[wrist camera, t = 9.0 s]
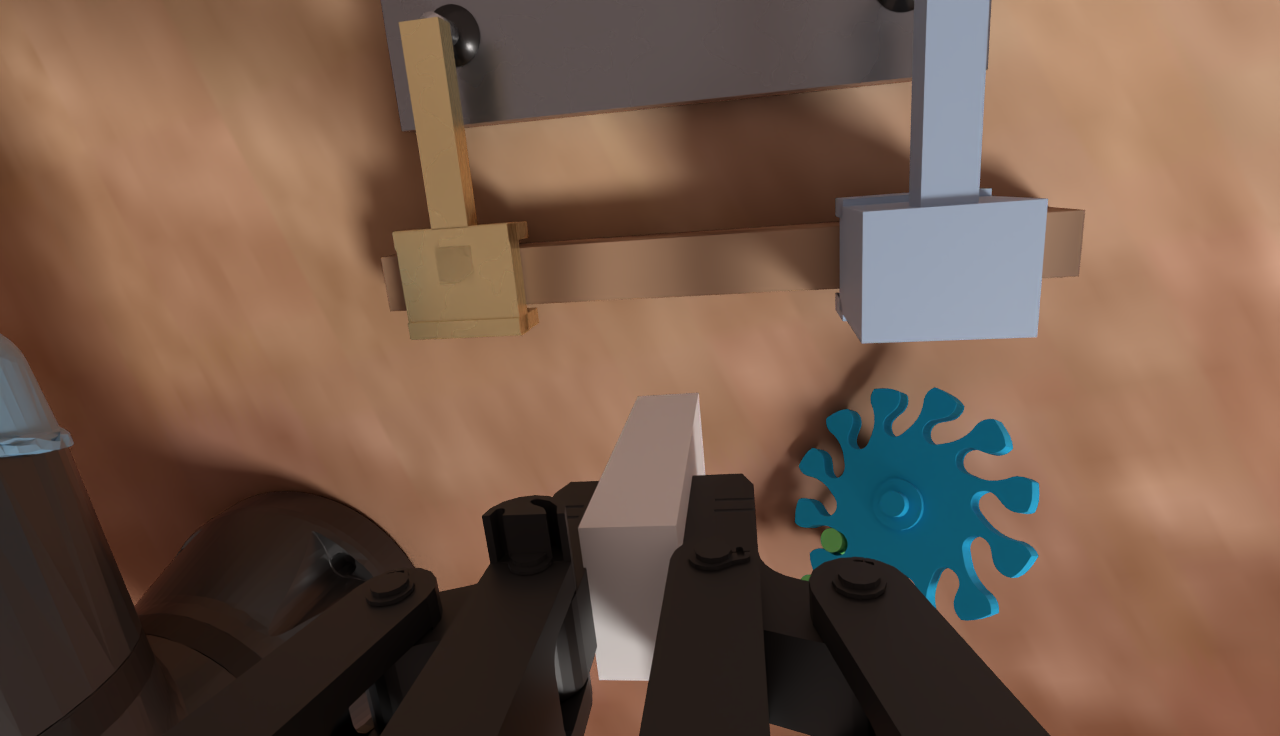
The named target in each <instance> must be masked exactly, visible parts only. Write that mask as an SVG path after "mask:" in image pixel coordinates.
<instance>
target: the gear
mask: <svg viewBox="0 0 1280 736" xmlns="http://www.w3.org/2000/svg"><path fill="white" fill-rule="evenodd" d="M871 404H872V407H873V411H874V420H875V422H874V429H873V432H872V435H871V438H870V440H869V443H868V444H867V446H866V447H865V448H863V449H860V448H859V447H858V445H857V436H858V434H859V431H860V429H861V423H862V422H861V417H860V415H859V414H858V413H857V412H856V411H852V410H849V409H844V410H840V411H837V412H836V413H834V414H832V415H830V416H829V417H827V419H826V425H827V428H828V430H829V431H830V432H831V433H832V434H833V435H834V436H835V437H836V438H837V440H838V441H839V443H840V445H841V448H842V450H843V455H844V463H845V470H844V472H843V474H842V475H841V476H840V477H838V478H837V477H836V475H835V474H834V470H833V462H832V458H831V456H830V454H829V453H828V452H826V451H824V450H820V449H816V448H811V449H810V450H809V451H808V452H807V453H806V454H805V456H804V457H803V459H802V461H801V462H800V464H799V468H800V470H801V472H802V473H803V474H805V475H807V476H811V477H814V478H816V479H818V480H820V481H821V482H823V483H824V484H825V485H826V486H827V487H828V489H829V490H830V491H831V493H832V494H833V496H834V497H835V499H836V502H837V509H836V511H835V513H834V514H833V515H830V514H829V513H828V512H827V510H826V509H825V507H824V505H823V504H822V503H821V502H820V501H818V500H815V499H807V498H801V499H799V500H798V503H797V506H796V512H795V523H796V524H797V525H798V526H800V527H805V528H817V527H820V526H829V527H831V528H828V529H826V530H824V531H823V533H822V535H821V544H822V546H823V548H819V549H815V550H813V551H812V552H811V553H810V560H811V565H812V568H813V570H814V569H815V568H817V567H818V566H820V565H821V564H822V563H824V562H827V561H830V560H834V559H838V558H848V557H864V558H870V559H875V560H878V561H881V562H883V563H886V564H889V565H891V566H894V567H895V568H897V569H898V570H899V571H901V572H902V573H903V574H904V575H906V576H907V577H908V578H910V579H911V580H912V581H913V582H914V584H915V586H916V587H917V588H918V589H919V590H920V592H921V593H922V594H923V595H924V596H925V597H926V598H927V599H928V600H929V602H930V603H931V604H932V605H933V606H934V607H935V608H936V605H935V592H936V587H937V584H938V581H939V579H940V576H941V574H942V572H943V571H944V570H945V569H946V568H950V569H951V570H953V571H954V572H955V573H956V574H957V576H958V578H959V589H958V591H957V594H956V596H955V599H954V609H955V612H956V614H957V615H958V617H959V618H960V619H961V620H967V621H969V620H977V619H982V618H986V617H990V616H992V615H995V614H997V613H999V606H998V602H997V600H996V598H995V597H994V596H993V594H992V593H990V592H989V591H988V590H987V589H986V588H985V586H984V585H983V584H982V583H981V581H980V580H979V578H978V576H977V574H976V572H975V570H974V567H973V563H972V558H971V552H970V546H971V543H972V541H973V540H974V539H975V538H977V537H982V538H984V539H985V540H986V541H987V542H988V543H989V545H990V547H991V552H992V558H993V562H994V565H995V567H996V568H997V570H998V571H999V572H1000V573H1002V574H1003V575H1005V576H1007V577H1010V578H1017V577H1020V576H1022V575H1023V574H1025V573H1026V572H1027V571H1028V570H1029V569H1030V568H1031V567H1032V565H1033V564H1034V562H1035V561H1036V559H1037V558H1038V554H1037V552H1036V550H1035V549H1034V548H1033V547H1032V546H1030V545H1029V544H1027V543H1025V542H1022V541H1017V540H1014V539H1012V538H1009V537H1007V536H1005V535H1003V534H1002V533H1000V532H999V531H998V530H996V529H995V528H994V527H993V526H992V525H991V524H990V523H989V522H988V521H987V519H986V518H985V517H984V516H983V514H982V513H981V511H980V509H979V500H980V498H981V497H982V496H983V495H984V494H986V493H989V492H991V493H993V494H994V495H996V496H997V498H998V499H999V500H1000V501H1001V502H1002V504H1003V505H1004V506H1005V507H1006V508H1007V509H1009V510H1011V511H1013V512H1017V513H1024V514H1032V513H1035V511H1036V509H1037V506H1038V502H1039V483H1038V482H1036V481H1034V480H1032V479H1029V478H1025V477H1019V476H1016V477H1011V478H1008V479H1004V480H998V481H988V480H984V479H981V478H978V477H976V476H973V475H971V474H969V473H968V472H967V471H966V469H965V468H964V464H963V461H964V457H965V456H966V454H967V453H969V452H970V451H972V450H980V451H982V452H985V453H989V454H992V455H997V456H1000V455H1005V454H1007V453H1009V452H1010V451H1011V450H1012V449H1013V445H1012V441H1011V438H1010V435H1009V434H1008V432H1007V430H1006V428H1005V427H1004V425H1003V424H1002V422H999V421H997V420H994V419H987V420H983V421H981V422H979V423H978V424H977V425H976V426H975V427H974V429H973V430H972V431H971V432H970V433H968V434H967V435H966V436H964V437H963V438H961V439H959V440H956V441H954V442H950V443H945V444H938V445H936V444H934V442H933V441H932V439H931V430H932V428H933V427H934V426H935V425H936V424H938V423H941V422H947V421H952V420H955V419H957V418H958V417H959V416H960V415H961V414H962V412H963V410H964V405H963V404H962V403H961V401H959V400H958V399H957V398H956V397H954V396H952V395H951V394H949V393H947V392H945V391H943V390H940V389H938V388H936V387H935V388H933V389H931V390H930V391H928V393H927V394H926V396H925V398H924V403H923V408H922V411H921V413H920V415H919V417H918V419H917V420H916V421H915V423H914V424H913V425H912V426H911V427H910V428H909V429H908V430H906V431H905V432H904V433H903V434H901V435H900V436H897V437H896V436H895V435H894V434H893V432H892V423H893V421H894V420H895V419H896V418H897V417H898V416H899V415H900V414H902V413H903V412H904V411H905V409H906V408H907V405H908V396H907V395H906V394H904V393H901V392H899V391H896V390H893V389H886V388H881V389H874V390H873V392H872V394H871ZM810 576H811V575H805V576H803V577H802V578H801V580H806V581H809V578H810Z"/></svg>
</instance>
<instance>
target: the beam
mask: <svg viewBox="0 0 1280 736" xmlns="http://www.w3.org/2000/svg"><path fill="white" fill-rule="evenodd" d="M1084 217H1085V210H1079V209H1067V208H1054V207H1047V219H1046V232H1045V244H1044V257H1043V269H1042V278H1055V277H1075V276H1079V270H1080V260H1081V249H1082V239H1083V228H1084ZM519 249H520V257H521V265H522V273H523V281H524V289H525V297H526V304H544V303H564V302H583V301H603V300H623V299H642V298H662V297H682V296H701V295H721V294H741V293H760V292H780V291H799V290H819V289H839V288H840V222H827V223H812V224H798V225H783V226H768V227H754V228H739V229H725V230H710V231H696V232H681V233H667V234H652V235H638V236H623V237H609V238H594V239H579V240H565V241H550V242H536V243H521V244H519ZM381 262H382V267H383V273H384V279H385V284H386V290H387V295H388V301H389V307H390V311H406V310H407V309H406V303H405V297H404V292H403V286H402V280H401V274H400V268H399V262H398V257H397V254H396V255H391V256H386V257H381Z"/></svg>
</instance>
